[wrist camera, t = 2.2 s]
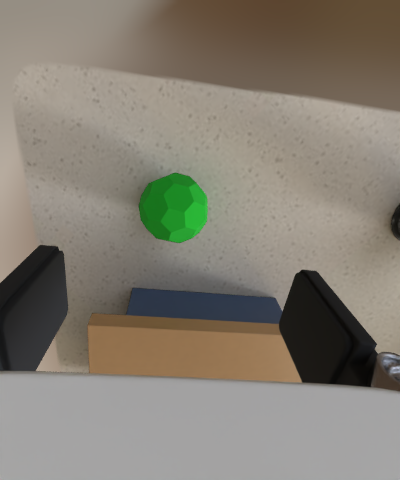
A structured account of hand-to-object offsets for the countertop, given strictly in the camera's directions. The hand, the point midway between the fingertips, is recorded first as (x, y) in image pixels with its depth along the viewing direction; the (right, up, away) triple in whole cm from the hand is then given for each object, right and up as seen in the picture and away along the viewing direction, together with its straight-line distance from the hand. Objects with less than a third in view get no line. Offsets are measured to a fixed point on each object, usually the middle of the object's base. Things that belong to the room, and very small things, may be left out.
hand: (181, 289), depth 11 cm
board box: (+1, -8, +18) cm, 20 cm away
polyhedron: (-1, +5, +11) cm, 13 cm away
